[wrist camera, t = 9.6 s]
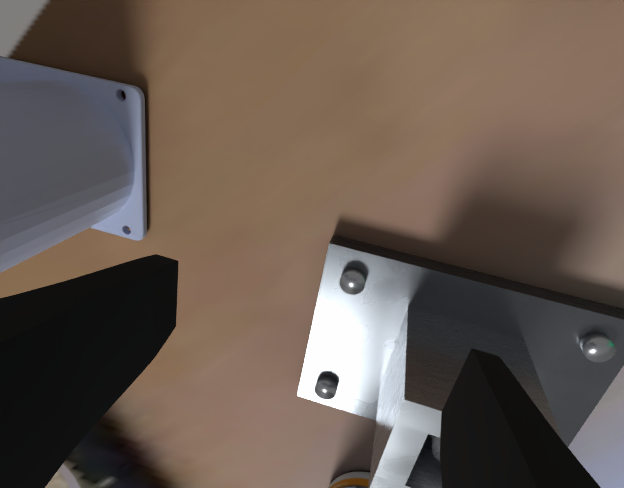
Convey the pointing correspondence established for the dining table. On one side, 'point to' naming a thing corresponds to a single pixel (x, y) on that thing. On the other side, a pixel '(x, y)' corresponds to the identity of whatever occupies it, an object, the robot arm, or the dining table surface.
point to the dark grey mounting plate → (460, 306)
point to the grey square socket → (434, 393)
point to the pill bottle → (351, 480)
